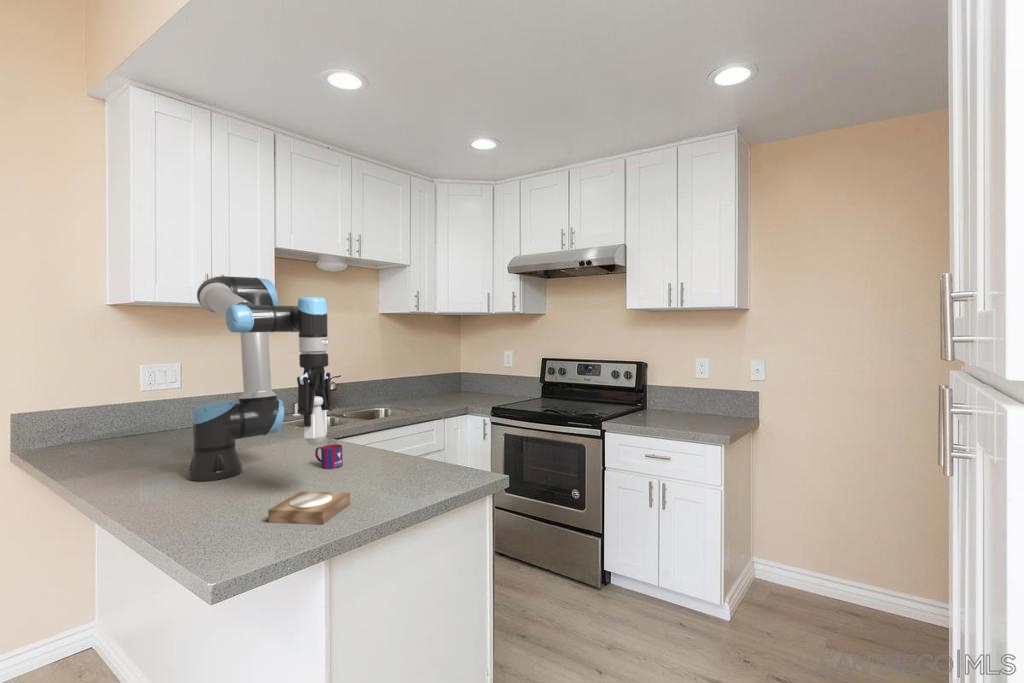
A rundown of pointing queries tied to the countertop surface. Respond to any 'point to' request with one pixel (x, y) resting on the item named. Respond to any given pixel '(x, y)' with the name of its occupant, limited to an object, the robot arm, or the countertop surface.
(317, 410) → the salt shaker
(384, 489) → the countertop surface
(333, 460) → the mug
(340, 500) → the stand
